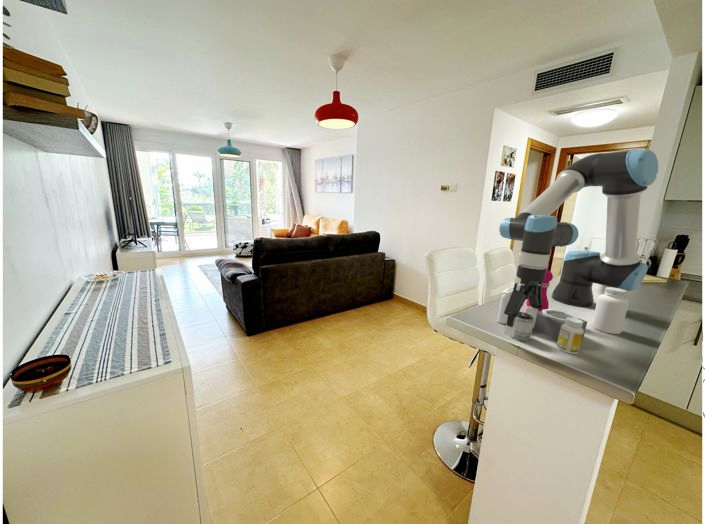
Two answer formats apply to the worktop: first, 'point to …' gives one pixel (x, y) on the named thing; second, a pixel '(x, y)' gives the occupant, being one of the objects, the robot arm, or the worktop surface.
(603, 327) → the pill bottle
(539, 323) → the grey block with ring
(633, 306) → the worktop surface
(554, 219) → the robot arm
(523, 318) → the camera lens
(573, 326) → the supplement bottle
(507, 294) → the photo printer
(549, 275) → the pepper mill
